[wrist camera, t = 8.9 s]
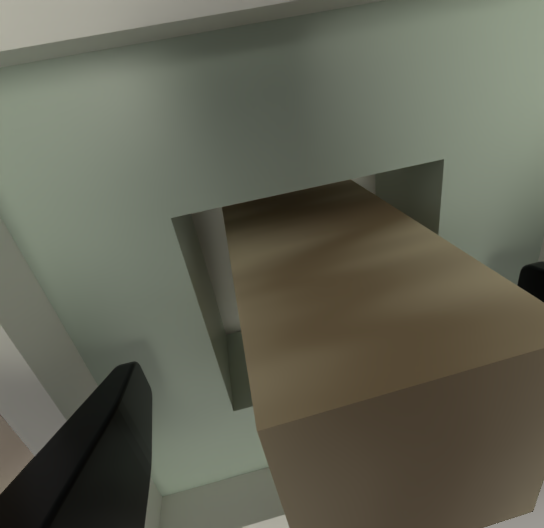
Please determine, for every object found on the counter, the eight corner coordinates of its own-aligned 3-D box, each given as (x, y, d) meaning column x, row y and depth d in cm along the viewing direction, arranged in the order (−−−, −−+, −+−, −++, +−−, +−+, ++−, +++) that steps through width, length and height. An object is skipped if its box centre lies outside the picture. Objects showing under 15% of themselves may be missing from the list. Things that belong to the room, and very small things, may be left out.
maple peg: (344, 175, 11) (593, 333, 4) (354, 280, 13) (532, 511, 6) (221, 205, 11) (256, 430, 4) (249, 308, 13) (308, 584, 6)
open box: (489, -41, 10) (813, -181, 5) (448, 335, 17) (562, 450, 11) (-20, 46, 9) (-347, -11, 4) (157, 410, 16) (134, 577, 10)
